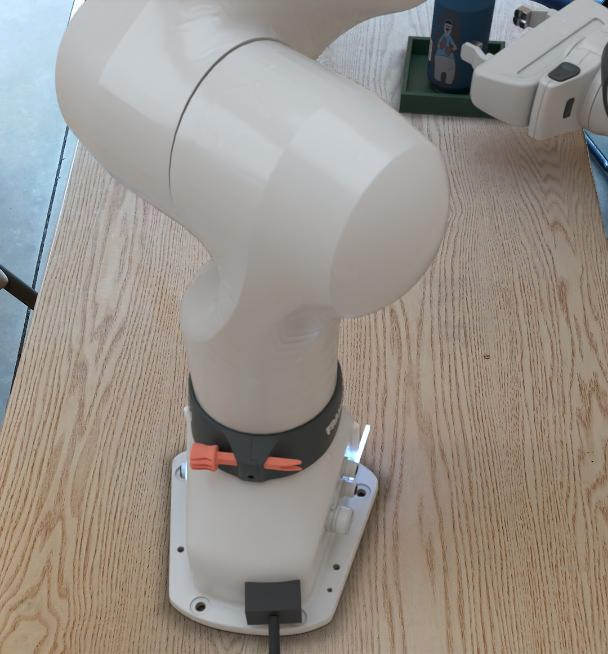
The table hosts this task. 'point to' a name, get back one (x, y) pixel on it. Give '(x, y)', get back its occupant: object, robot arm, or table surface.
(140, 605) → the table surface
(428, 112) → the serving tray
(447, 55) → the soda can
